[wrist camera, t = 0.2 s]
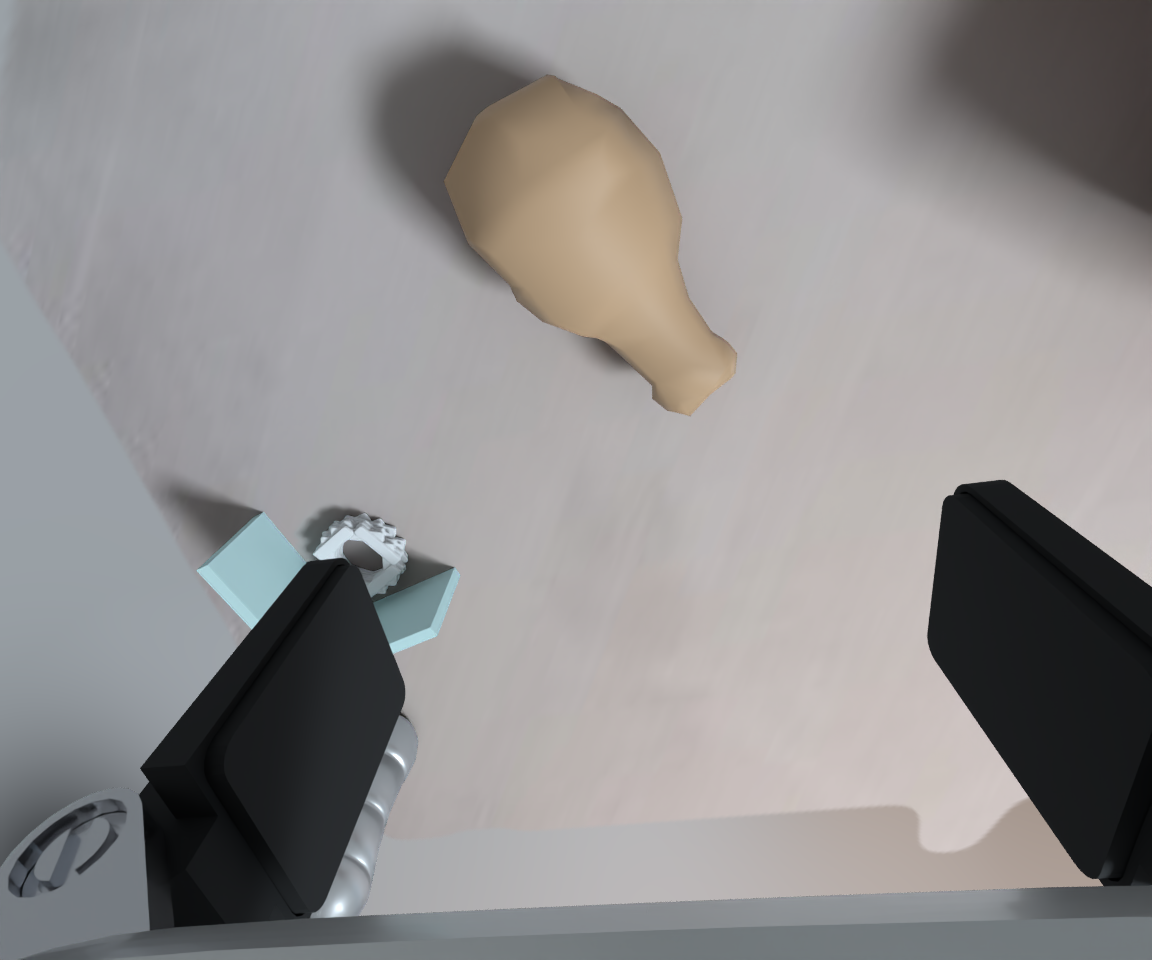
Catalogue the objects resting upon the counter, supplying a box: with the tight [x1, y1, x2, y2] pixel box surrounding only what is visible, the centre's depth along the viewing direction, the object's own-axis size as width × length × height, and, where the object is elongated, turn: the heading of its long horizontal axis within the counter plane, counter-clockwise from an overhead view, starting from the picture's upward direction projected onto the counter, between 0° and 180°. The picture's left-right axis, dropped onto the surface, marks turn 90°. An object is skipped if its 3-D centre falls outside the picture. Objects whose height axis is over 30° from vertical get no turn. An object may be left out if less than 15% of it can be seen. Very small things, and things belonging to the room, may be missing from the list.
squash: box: [444, 75, 737, 416], centre depth 33 cm, size 11×20×9 cm, turn 42°
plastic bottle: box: [310, 715, 418, 918], centre depth 48 cm, size 6×7×20 cm
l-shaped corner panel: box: [196, 512, 460, 654], centre depth 45 cm, size 12×12×8 cm
